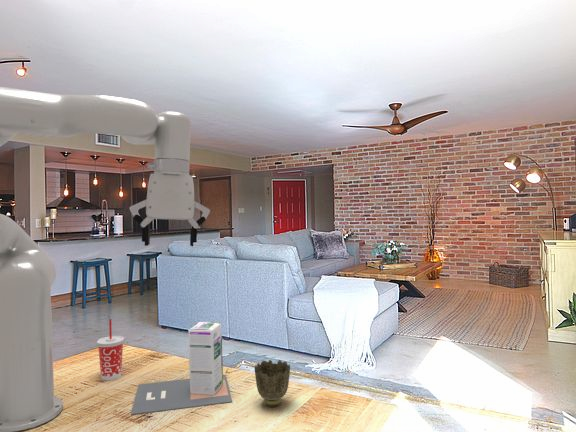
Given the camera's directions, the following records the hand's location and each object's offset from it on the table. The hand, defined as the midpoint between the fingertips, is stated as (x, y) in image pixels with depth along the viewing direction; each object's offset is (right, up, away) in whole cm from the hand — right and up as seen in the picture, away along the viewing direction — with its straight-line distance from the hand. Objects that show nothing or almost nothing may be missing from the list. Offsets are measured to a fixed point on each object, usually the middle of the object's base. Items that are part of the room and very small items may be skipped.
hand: (169, 245), depth 91 cm
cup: (+23, -33, -7) cm, 41 cm away
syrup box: (+8, -32, 0) cm, 33 cm away
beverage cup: (-17, -33, +8) cm, 37 cm away
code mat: (+3, -33, -1) cm, 33 cm away
